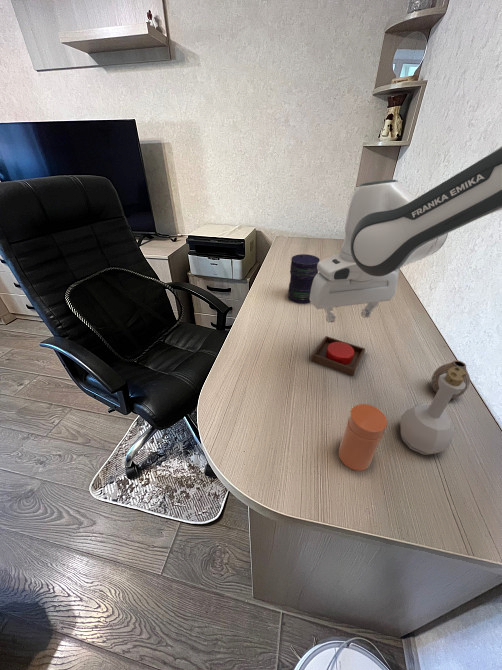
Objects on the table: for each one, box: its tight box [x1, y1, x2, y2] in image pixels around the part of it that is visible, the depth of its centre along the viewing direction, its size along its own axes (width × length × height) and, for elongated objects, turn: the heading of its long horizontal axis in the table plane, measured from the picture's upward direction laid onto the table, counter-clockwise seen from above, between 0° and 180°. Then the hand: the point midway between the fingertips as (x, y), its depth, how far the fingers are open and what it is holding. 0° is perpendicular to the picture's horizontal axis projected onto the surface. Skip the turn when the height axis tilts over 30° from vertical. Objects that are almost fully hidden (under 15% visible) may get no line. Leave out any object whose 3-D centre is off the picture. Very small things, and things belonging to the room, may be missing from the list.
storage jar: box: [287, 253, 321, 305], centre depth 100 cm, size 10×10×15 cm
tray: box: [311, 335, 366, 377], centre depth 75 cm, size 11×10×2 cm
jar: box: [337, 403, 388, 472], centre depth 49 cm, size 6×6×11 cm
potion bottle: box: [400, 367, 466, 456], centre depth 50 cm, size 9×9×18 cm
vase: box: [430, 359, 471, 399], centre depth 63 cm, size 7×7×9 cm
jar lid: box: [326, 342, 354, 365], centre depth 74 cm, size 7×7×2 cm
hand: (347, 318), depth 68 cm, fingers open, 8 cm apart
